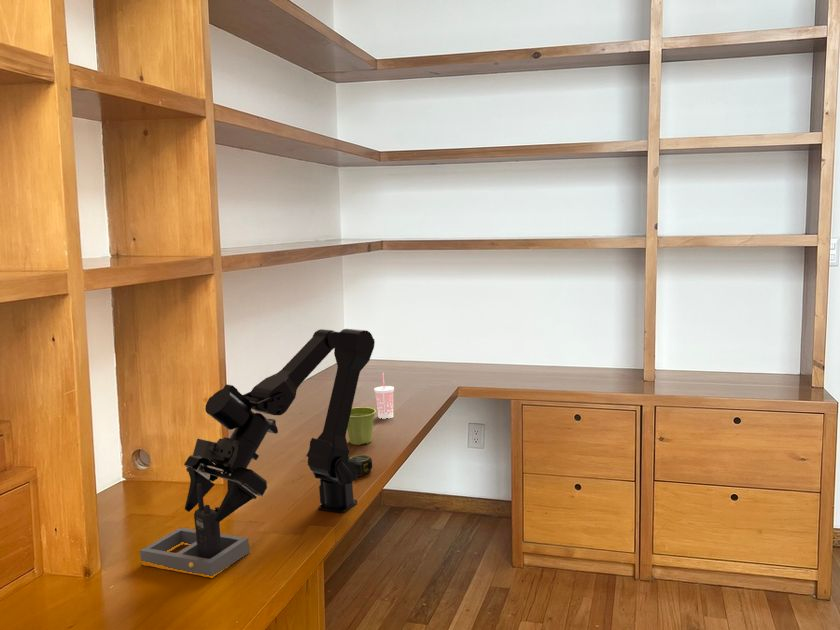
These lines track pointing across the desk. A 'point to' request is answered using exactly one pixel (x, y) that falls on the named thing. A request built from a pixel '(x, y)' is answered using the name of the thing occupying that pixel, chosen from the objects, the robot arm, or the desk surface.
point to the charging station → (194, 552)
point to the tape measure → (361, 463)
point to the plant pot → (360, 425)
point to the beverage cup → (384, 400)
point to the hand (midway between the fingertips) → (201, 515)
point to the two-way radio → (206, 528)
